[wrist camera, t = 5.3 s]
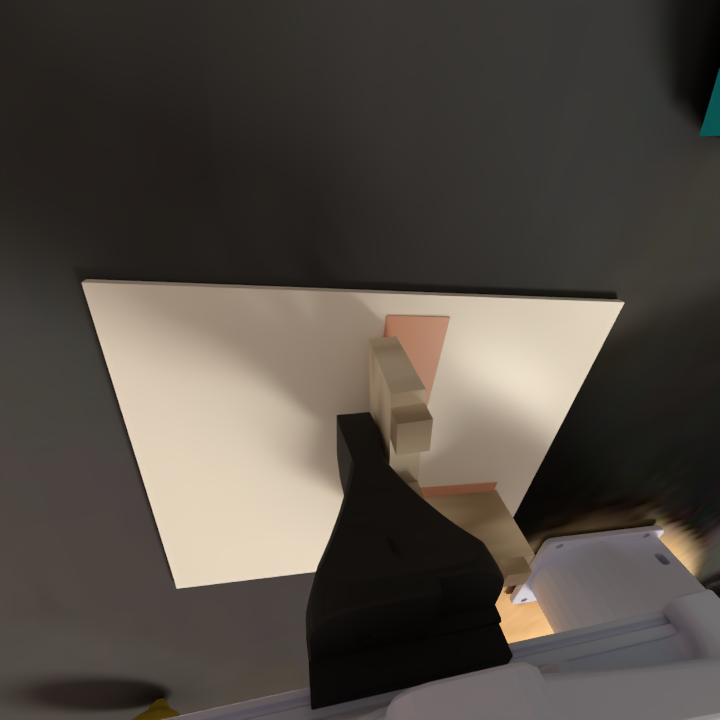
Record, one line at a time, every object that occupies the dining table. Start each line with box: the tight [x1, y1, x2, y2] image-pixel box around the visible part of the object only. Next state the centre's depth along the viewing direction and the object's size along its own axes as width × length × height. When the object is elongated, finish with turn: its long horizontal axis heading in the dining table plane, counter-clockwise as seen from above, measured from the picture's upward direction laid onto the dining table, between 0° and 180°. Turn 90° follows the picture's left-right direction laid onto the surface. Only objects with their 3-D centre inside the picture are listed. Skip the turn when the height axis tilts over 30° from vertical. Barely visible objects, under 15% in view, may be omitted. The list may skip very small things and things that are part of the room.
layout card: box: [81, 279, 625, 589], centre depth 17 cm, size 19×17×1 cm
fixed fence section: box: [424, 490, 535, 587], centre depth 17 cm, size 7×1×6 cm, turn 84°
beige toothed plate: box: [369, 336, 433, 499], centre depth 13 cm, size 9×1×4 cm, turn 1°
